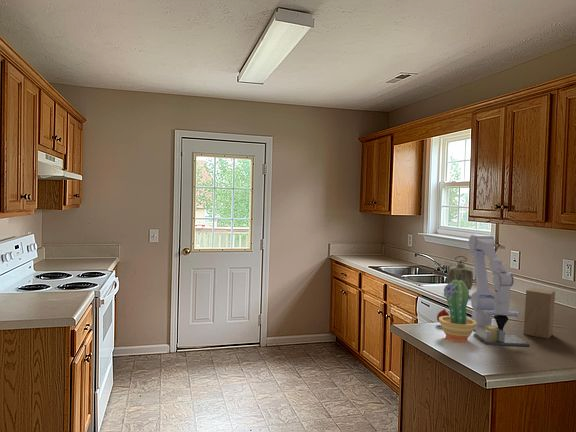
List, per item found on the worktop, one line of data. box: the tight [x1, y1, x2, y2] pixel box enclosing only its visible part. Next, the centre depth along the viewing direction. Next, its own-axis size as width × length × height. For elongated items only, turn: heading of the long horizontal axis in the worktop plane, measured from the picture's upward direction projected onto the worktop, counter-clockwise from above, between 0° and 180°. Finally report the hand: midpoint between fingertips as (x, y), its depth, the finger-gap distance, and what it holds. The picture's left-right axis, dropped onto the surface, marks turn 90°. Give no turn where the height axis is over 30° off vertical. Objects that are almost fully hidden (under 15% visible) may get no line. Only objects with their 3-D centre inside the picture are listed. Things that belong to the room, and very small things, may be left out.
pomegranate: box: [436, 308, 450, 325], centre depth 213 cm, size 6×6×8 cm
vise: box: [473, 325, 530, 347], centre depth 192 cm, size 12×18×5 cm, turn 91°
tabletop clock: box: [446, 255, 474, 291], centre depth 289 cm, size 14×9×25 cm, turn 82°
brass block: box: [483, 325, 498, 341], centre depth 192 cm, size 6×4×5 cm, turn 1°
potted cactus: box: [438, 280, 477, 343], centre depth 192 cm, size 15×15×25 cm
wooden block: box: [523, 287, 556, 340], centre depth 204 cm, size 10×10×20 cm
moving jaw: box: [493, 325, 506, 342], centre depth 192 cm, size 10×2×4 cm, turn 1°
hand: (500, 332), depth 192 cm, fingers closed
